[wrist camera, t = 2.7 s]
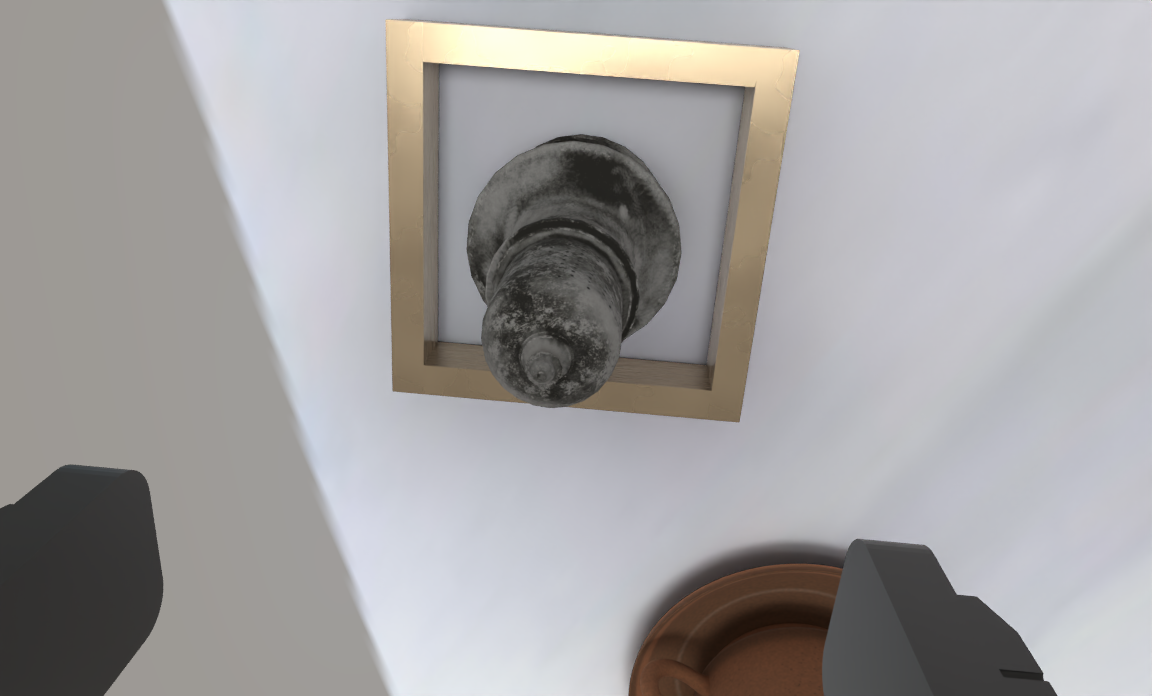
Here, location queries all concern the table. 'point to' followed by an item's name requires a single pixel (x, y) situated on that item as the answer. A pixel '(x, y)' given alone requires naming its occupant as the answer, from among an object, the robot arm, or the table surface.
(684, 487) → the table surface
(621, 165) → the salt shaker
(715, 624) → the cup and saucer
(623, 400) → the socket collar
